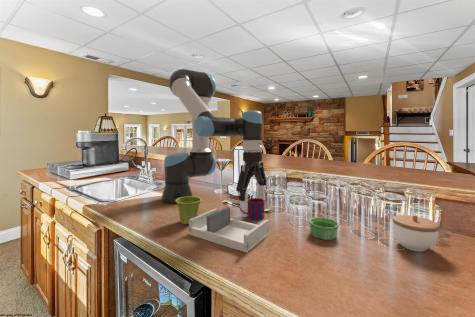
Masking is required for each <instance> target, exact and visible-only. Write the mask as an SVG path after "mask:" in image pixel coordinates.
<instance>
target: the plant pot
mask: <svg viewBox="0 0 475 317" xmlns="http://www.w3.org/2000/svg"><path fill="white" fill-rule="evenodd" d="M176 202H177V203H176V204H177V208H178V214H179V220H180V224H183V225H189V220H190V219H192V218H194V217H197V216H199V210H200V205H201V202H202V198H201V197H199V196H193V197H192V196H188V197H181V198H178V199H176Z"/></svg>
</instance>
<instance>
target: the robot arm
mask: <svg viewBox="0 0 475 317" xmlns="http://www.w3.org/2000/svg"><path fill="white" fill-rule="evenodd" d="M168 86H169V89H170V91H171V93H172V95H174V96H175V97H176V98H178V99H179V101H180V102H181V103H182V105H183V106H184V107H185V110H187V112H188V113H189V114H190V116H191V132H192V133H191V135H192V141H191V142H192V144H191V145H192V148H191V149H190V150H189V153H188V152H176V153H171V154H168V155H166V156H165V157H164V163H163V164H164V165H163V166H164V168H163V169H164V187H163V192H162V195H161V201H162V202H163V203H165V204H177V202H176V199H178V198H181V197H188V196H192V197H194V196H193V195H194V194H193V193H192V189H191V186H190V183H189V182H190V179H189V178H195V177H196V178H197V177H206V176H210V175H212V174H213V173H214V172H215V170H216V167H217V159H216V156H215V155H214V153H213V152H212V149H210V143H209V141H210V139H209V137H212V138H213V137H214V138H215V137H230V138H233V137H234V138H235V137H236V138H237V137H242V150H243V153H242V161H243V162H245V164H241V165H240V173H239V176H238V180H237V184H236V188H235V191H236V192H239V200H240V201H239V210H240V209H242V210H243V211H244V210H245V211H248V204H247V202H248V191H247V190H248V187H249V184H250V182H251V179H252V178H253V177H254V178H255V180H256V182H257V184H258V185H257V196H256V198H260V199H263V200H265V186H267V182H268V181H267V177H266V173H265V172H266V171H265V169H264V162H262V161H263V152H262V150H263V145H264V143H263V114H262V112H261V110H260V111H259V110H245V111H243V112H242V117H235V118H233V117H217V116H215V115H214V114H213V112H212V111H211V110H210V109H209V102H210V101H212V97H213V96H214V95H215V94H216V91H217V90H216V88H217V84H216V80H215V78H214V77H213V75H211V74H209V73H207V72H204V71H196V70H190V69H187V68H186V69H185V68H181V69H180V68H179V69H177V70H175V71H174V72H173V73H172V74H171V75H170V76H169V80H168Z"/></svg>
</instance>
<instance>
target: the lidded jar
mask: <svg viewBox="0 0 475 317" xmlns="http://www.w3.org/2000/svg"><path fill="white" fill-rule="evenodd" d="M439 230H440V225H439V223H437V222H435V221H433V220H431V219H428V218H425V217H421V216H418V215H416V214H413V215H409V214H398V215H393V217H392V231H393V235H394V237H395V239H396V240H397V242H398V243H399V244H400V246H401V245H402V246H401V247H403V248H404V247H405V248H404V249H407V250H410V251H413V252H419V253H420V252H421V253H422V252H426V251H427V250H429V249H430V248H431V247H433V246H434V245H435V244H436V242H437V238H438V236H439V235H438V234H439Z"/></svg>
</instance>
